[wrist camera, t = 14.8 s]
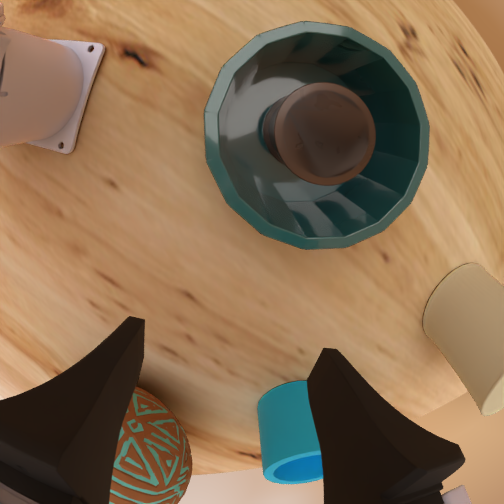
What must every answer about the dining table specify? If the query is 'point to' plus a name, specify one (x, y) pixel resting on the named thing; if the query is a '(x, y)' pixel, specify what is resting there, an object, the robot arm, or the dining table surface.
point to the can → (471, 332)
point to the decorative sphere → (150, 455)
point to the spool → (321, 133)
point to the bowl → (277, 174)
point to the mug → (289, 436)
